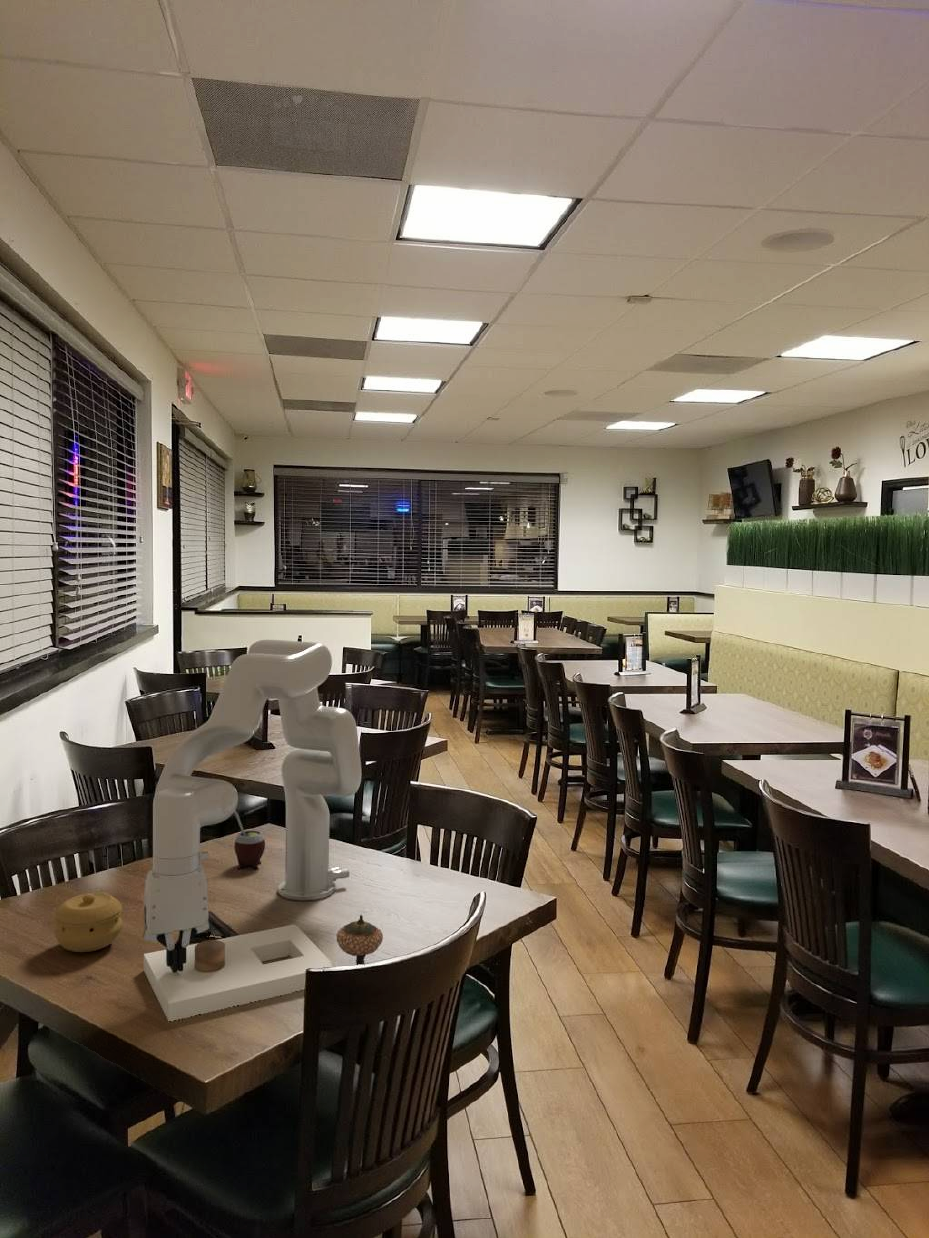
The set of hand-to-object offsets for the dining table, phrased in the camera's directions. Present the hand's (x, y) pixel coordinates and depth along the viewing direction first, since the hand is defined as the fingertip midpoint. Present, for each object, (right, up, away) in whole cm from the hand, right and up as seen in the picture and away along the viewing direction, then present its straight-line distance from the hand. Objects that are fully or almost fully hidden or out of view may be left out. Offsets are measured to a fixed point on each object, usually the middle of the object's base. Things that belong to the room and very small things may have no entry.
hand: (176, 968), depth 149 cm
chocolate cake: (+1, -3, +20) cm, 20 cm away
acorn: (+30, -4, +10) cm, 32 cm away
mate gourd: (-3, 0, +61) cm, 61 cm away
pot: (-22, -3, +16) cm, 27 cm away
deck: (+9, -4, +6) cm, 11 cm away
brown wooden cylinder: (+5, -1, +3) cm, 6 cm away
